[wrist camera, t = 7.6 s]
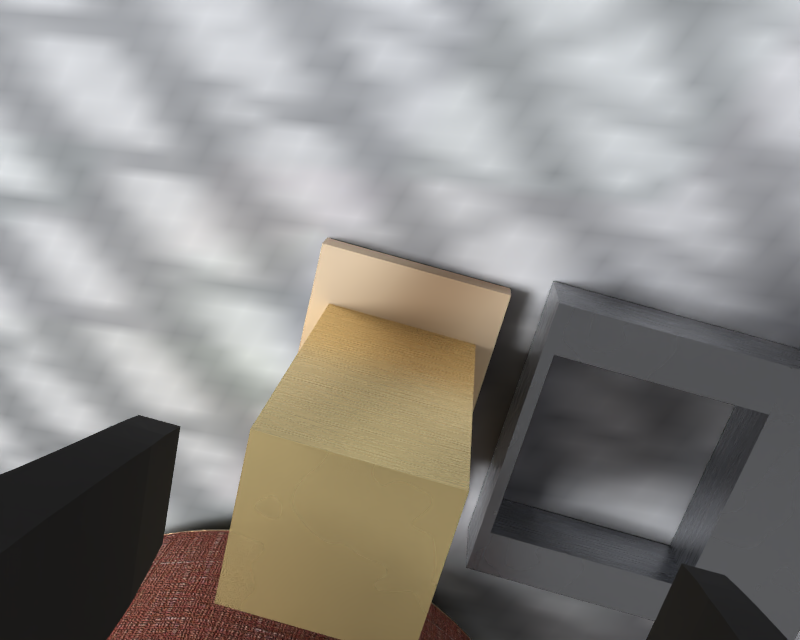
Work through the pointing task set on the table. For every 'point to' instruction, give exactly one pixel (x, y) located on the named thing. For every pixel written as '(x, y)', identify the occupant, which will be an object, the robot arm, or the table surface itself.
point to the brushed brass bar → (354, 481)
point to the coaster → (409, 297)
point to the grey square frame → (716, 493)
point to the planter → (195, 600)
